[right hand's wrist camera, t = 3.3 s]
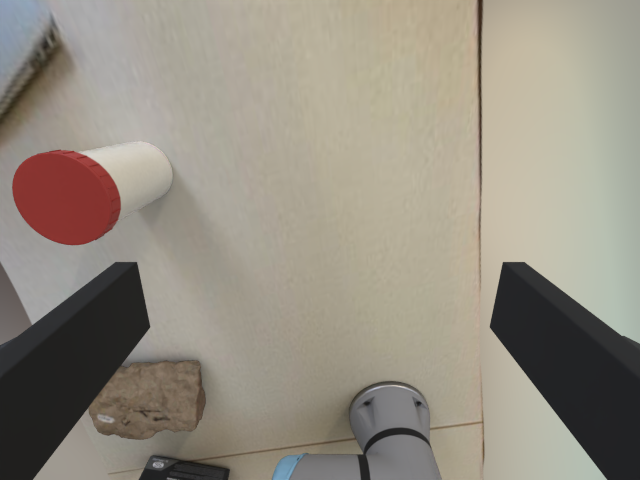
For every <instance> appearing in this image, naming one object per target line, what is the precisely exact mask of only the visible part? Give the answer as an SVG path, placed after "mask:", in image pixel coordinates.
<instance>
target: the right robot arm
mask: <svg viewBox="0 0 640 480" xmlns="http://www.w3.org/2000/svg"><path fill="white" fill-rule="evenodd" d="M149 328H150V323H149V319H148V314H147V309H146V304H145V299H144V294H143V289H142V284H141V279H140V274H139V270H138V265H137V262H115V263H114V264H113V265H111V266H110V267H109V268H107V269H106V270H105V271H103V272H102V273H101V274H99V275H98V276H97V277H95V278H94V279H93V280H91V281H90V282H89V283H87V284H86V285H85V286H84V287H82V288H81V289H80V290H78V291H77V292H76V293H74V294H73V295H72V296H70V297H69V298H68V299H66V300H65V301H64V302H62V303H61V304H60V305H59V306H57V307H56V308H55V309H53V310H52V311H51V312H49V313H48V314H47V315H45V316H44V317H43V318H41V319H40V320H39V321H37V322H36V323H35V324H33V325H32V326H31V327H30V328H28V329H27V330H26V331H24V332H23V333H22V334H20V335H19V336H18V337H16V338H14V339H12V340H10V341H8V342H6V343H4V344H2V345H0V480H33V479H34V477H35V476H36V475H37V473H38V472H39V471H40V470H41V468H42V467H43V466H44V464H45V463H46V462H47V460H48V459H49V458H50V457H51V455H52V454H53V453H54V451H55V450H56V449H57V447H58V446H59V445H60V444H61V442H62V441H63V440H64V438H65V437H66V436H67V435H68V433H69V432H70V431H71V429H72V428H73V427H74V425H75V424H76V423H77V422H78V420H79V419H80V418H81V416H82V415H83V414H84V412H85V411H86V410H87V409H88V407H89V406H90V405H91V403H92V402H93V401H94V400H95V398H96V397H97V396H98V394H99V393H100V392H101V390H102V389H103V388H104V387H105V385H106V384H107V383H108V381H109V380H110V379H111V377H112V376H113V375H114V374H115V372H116V371H117V370H118V368H119V367H120V366H121V365H122V363H123V362H124V361H125V359H126V358H127V357H128V355H129V354H130V353H131V352H132V350H133V349H134V348H135V346H136V345H137V344H138V342H139V341H140V340H141V339H142V337H143V336H144V335H145V333H146V332H147V331H148V329H149ZM490 328H491V329H492V331H493V332H494V333H495V335H496V336H497V337H498V339H499V340H500V341H501V342H502V344H503V345H504V346H505V348H506V349H507V350H508V352H509V353H510V354H511V355H512V357H513V358H514V359H515V361H516V362H517V363H518V365H519V366H520V367H521V368H522V370H523V371H524V372H525V373H526V375H527V376H528V377H529V379H530V380H531V381H532V383H533V384H534V385H535V386H536V388H537V389H538V390H539V392H540V393H541V394H542V396H543V397H544V398H545V400H546V401H547V402H548V403H549V405H550V406H551V407H552V409H553V410H554V411H555V412H556V414H557V415H558V416H559V418H560V419H561V420H562V422H563V423H564V424H565V425H566V427H567V428H568V429H569V431H570V432H571V433H572V434H573V436H574V437H575V438H576V440H577V441H578V442H579V444H580V445H581V446H582V447H583V449H584V450H585V451H586V453H587V454H588V455H589V457H590V458H591V459H592V460H593V462H594V463H595V464H596V466H597V467H598V468H599V470H600V471H601V472H602V473H603V475H604V476H605V477H606V479H607V480H640V344H639V343H637V342H635V341H633V340H631V339H629V338H627V337H625V336H621V335H620V334H618V333H617V332H616V331H614V330H613V329H612V328H610V327H609V326H608V325H607V324H605V323H604V322H603V321H601V320H600V319H599V318H597V317H596V316H595V315H593V314H592V313H591V312H589V311H588V310H587V309H585V308H584V307H583V306H581V305H580V304H579V303H578V302H576V301H575V300H574V299H572V298H571V297H570V296H568V295H567V294H566V293H564V292H563V291H562V290H560V289H559V288H558V287H556V286H555V285H554V284H552V283H551V282H550V281H549V280H547V279H546V278H545V277H543V276H542V275H541V274H539V273H538V272H537V271H535V270H534V269H533V268H531V267H530V266H529V265H527V264H526V263H525V262H503V265H502V270H501V274H500V279H499V284H498V289H497V294H496V299H495V304H494V309H493V314H492V318H491V323H490ZM349 418H350V425H351V428H352V431H353V433H354V435H355V437H356V439H357V442H358V444H359V446H360V448H361V450H362V452H363V454H364V455H356V454H309V453H305V454H304V453H303V454H301V455H288V456H286V457H284V458H282V459H281V460H280V461H279V463H278V464H277V466H276V468H275V471H274V474H273V477H272V480H442V478H441V475H440V472H439V469H438V466H437V463H436V461H435V458H434V455H433V452H432V449H431V446H430V443H429V440H430V413H429V408H428V405H427V402H426V400H425V398H424V396H423V395H422V394H421V393H420V392H419V391H418V390H417V389H416V388H414V387H412V386H410V385H408V384H405V383H401V382H381V383H377V384H374V385H371V386H369V387H367V388H365V389H364V390H362V391H361V392H360V393H359V394H358V395H357V396H356V397H355V398H354V400H353V401H352V403H351V406H350V409H349Z"/></svg>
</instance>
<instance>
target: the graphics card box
mask: <svg viewBox="0 0 640 480" xmlns="http://www.w3.org/2000/svg"><path fill="white" fill-rule="evenodd" d="M229 472H230V469H225V468H220V467H214V466H209V465H202V464H197V463H191V462H186V461H180V460H175V459H169V458H163V457H158V456H151V457H150V459H149V461H148V462H147V465H146V466H145V469H144V471H143V472H142V474H141V477H140V478H139V480H228V477H229Z"/></svg>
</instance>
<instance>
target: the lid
mask: <svg viewBox="0 0 640 480" xmlns="http://www.w3.org/2000/svg"><path fill="white" fill-rule="evenodd" d="M12 189H13V197H14V201H15V204H16V206H17V208H18V210H19V212H20V214H21V215H22V217H23V218H24V220H25V221H26V222H27V223H28V224H29V225H30V226H31V227H32V228H33V229H34V230H35V231H36V232H38V233H39V234H41V235H42V236H44V237H46V238H47V239H50V240H52V241H54V242H57V243H61V244H66V245H81V244H86V243H89V242H91V241H93V240H97V239H98V238H100V237H102V236H103V235H104V234H105V233H107V232H108V231H110V230H111V229H113V226H114V225H115V224H116V222H117V221H118V218H119V215H120V210H121V199H120V198H121V197H120V194H119V191H118V188H117V185H116V184H115V182H114V180H113V179H112V177H111V176H110V174H109V173H108V172H107V171H106V170H105V169H104V168H103V167H102V166H101V165H100V164H99V163H97V162H96V161H94V160H93V159H91V158H90V157H88V156H87V155H86V156H85V155H83V154H80V153H78V152H74V151H66V150H63V151H61V150H55V151H49V152H46V153H40V154H37V155H34V156H32V157H30V158H28V159H26V160H25V161H24V162H23V163H22V164H21V165H20V166H19V167H18V169H17V171H16V173H15V175H14V179H13V186H12Z"/></svg>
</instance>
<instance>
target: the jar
mask: <svg viewBox="0 0 640 480" xmlns="http://www.w3.org/2000/svg"><path fill="white" fill-rule="evenodd" d="M78 153H80V154H83V155H85V156H86V155H87V156H88V157H90V158H91V159H93V160H94V161H96V162H97V163H99V164H100V165H101V166H102V167H103V168H104V169H105V170H106V171H107V172H108V173H109V174H110V176H111V177H112V179H113V180H114V182H115V184H116V185H117V188H118V191H119V194H120V197H121V198H120V199H121V210H120V215H119V218H118V221H120V220H122V219H123V218H125V217H127V216H129V215H131V214H132V213H134V212H136V211H138V210H139V209H141V208H143V207H145V206H146V205H148V204H150V203H152V202H153V201H155V200H157V199H159V198H161V197H162V196H164V195H165V194H166V193H167V192H168V190H169V189H170V187H171V184H172V179H173V172H172V168H171V165H170V162H169V160H168V159H167V157H166V156H165V155H164V153H163V152H162V151H161V150H159V149H158V148H157V147H155V146H154V145H152V144H149V143H146V142H142V141H133V142H128V143H122V144H117V145H111V146H106V147H101V148H95V149H90V150H84V151H79V152H78ZM118 221H117V222H118Z"/></svg>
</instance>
